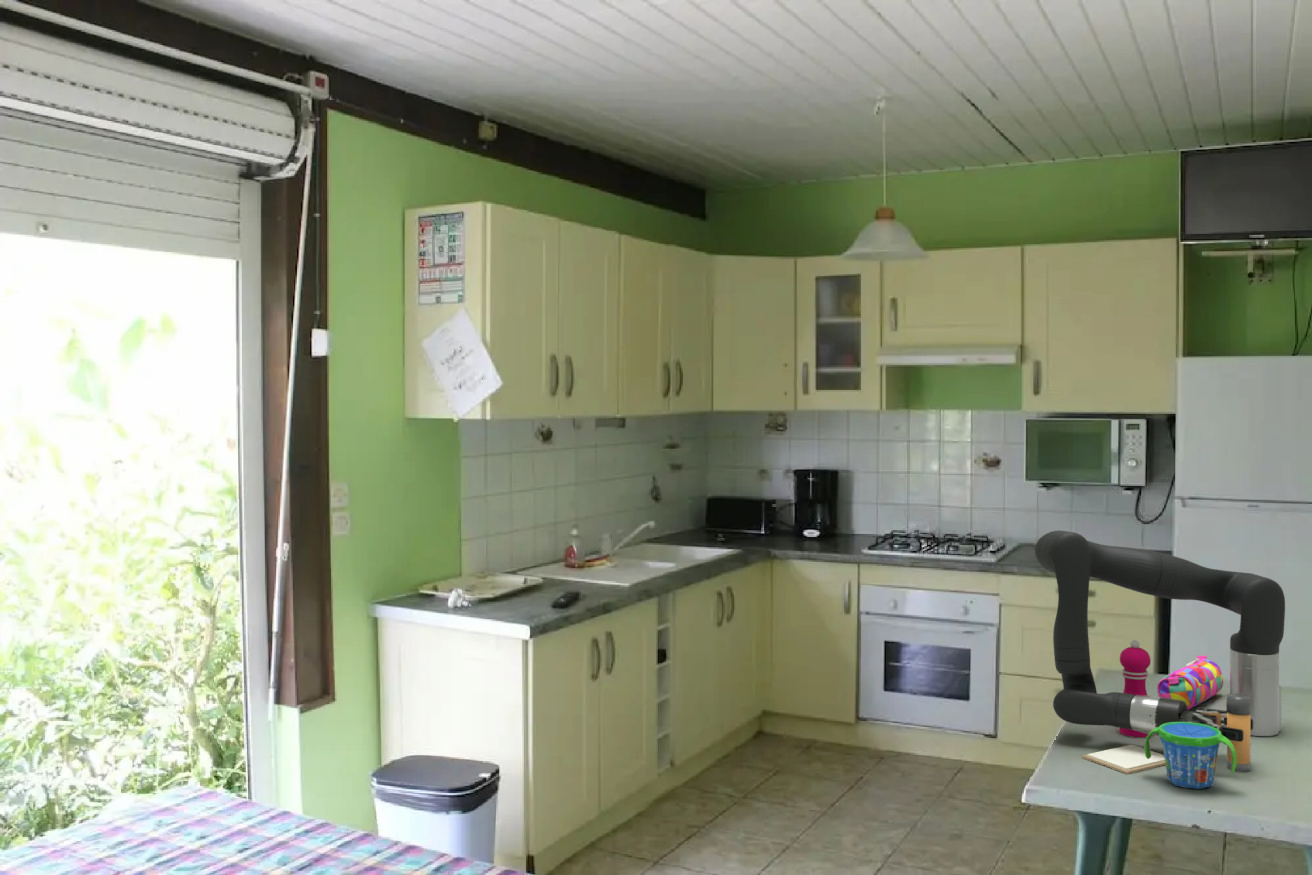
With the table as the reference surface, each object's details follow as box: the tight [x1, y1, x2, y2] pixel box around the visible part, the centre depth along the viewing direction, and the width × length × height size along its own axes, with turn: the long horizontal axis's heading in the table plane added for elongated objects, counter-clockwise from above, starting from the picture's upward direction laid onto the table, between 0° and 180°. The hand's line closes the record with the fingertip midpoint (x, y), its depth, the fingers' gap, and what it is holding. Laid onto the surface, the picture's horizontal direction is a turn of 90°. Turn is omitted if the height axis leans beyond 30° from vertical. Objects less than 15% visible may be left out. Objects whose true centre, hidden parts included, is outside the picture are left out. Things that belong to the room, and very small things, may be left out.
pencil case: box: [1156, 655, 1224, 711], centre depth 261 cm, size 22×9×9 cm, turn 139°
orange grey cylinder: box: [1225, 693, 1251, 773], centre depth 215 cm, size 4×4×14 cm
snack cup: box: [1143, 722, 1237, 790], centre depth 208 cm, size 16×10×10 cm
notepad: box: [1081, 743, 1166, 775], centre depth 222 cm, size 14×11×1 cm
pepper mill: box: [1118, 639, 1151, 738], centre depth 238 cm, size 7×7×20 cm
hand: (1248, 730), depth 214 cm, fingers open, 8 cm apart
